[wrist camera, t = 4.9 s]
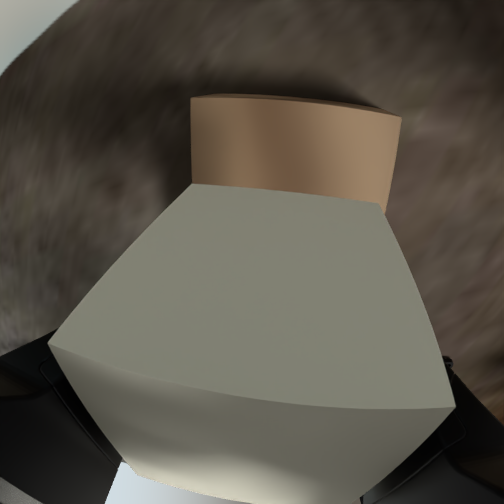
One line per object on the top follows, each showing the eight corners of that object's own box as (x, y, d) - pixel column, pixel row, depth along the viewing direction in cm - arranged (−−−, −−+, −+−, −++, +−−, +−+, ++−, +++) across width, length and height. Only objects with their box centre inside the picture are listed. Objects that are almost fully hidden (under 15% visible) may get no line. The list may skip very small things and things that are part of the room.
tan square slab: (381, 108, 15) (401, 117, 11) (356, 253, 19) (364, 291, 16) (215, 93, 16) (190, 98, 12) (216, 236, 20) (197, 271, 17)
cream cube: (378, 203, 8) (455, 406, 3) (342, 339, 10) (342, 509, 5) (192, 183, 8) (47, 343, 3) (200, 321, 11) (137, 474, 6)
